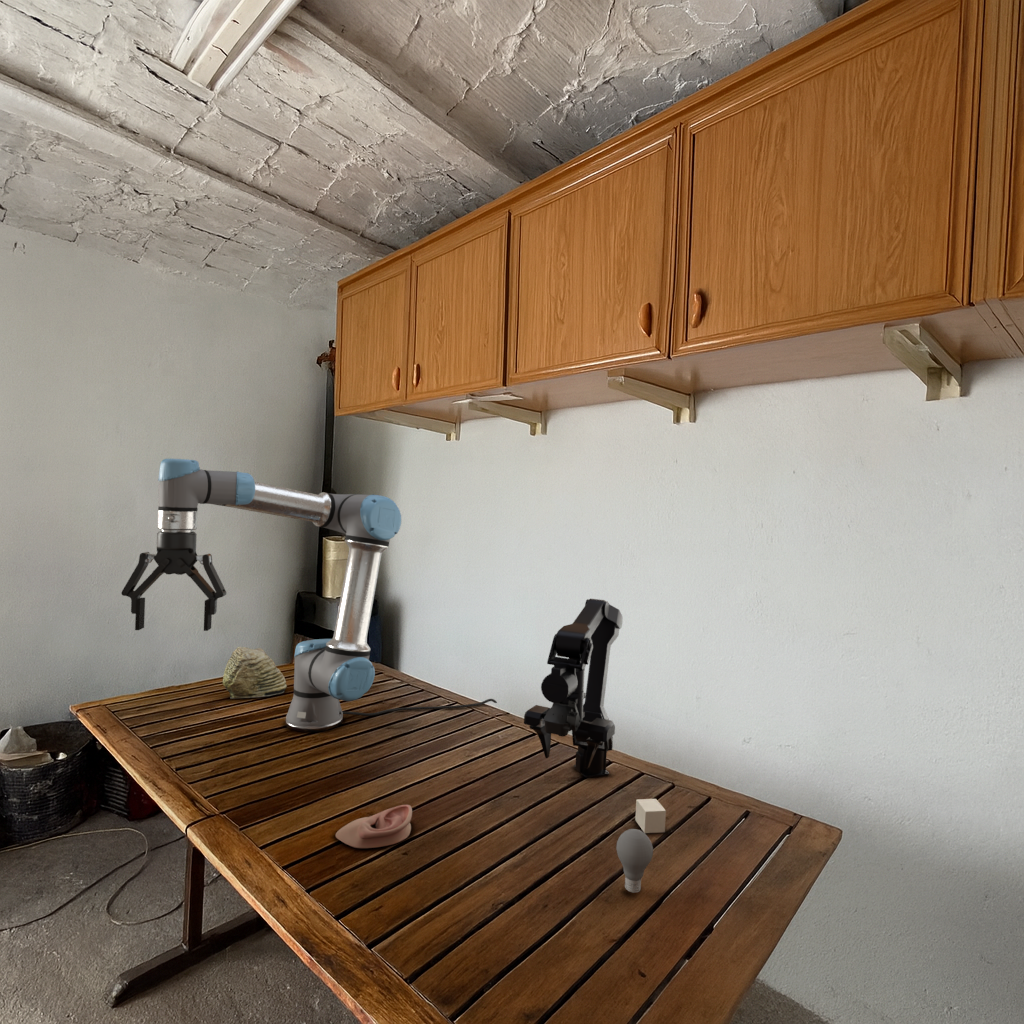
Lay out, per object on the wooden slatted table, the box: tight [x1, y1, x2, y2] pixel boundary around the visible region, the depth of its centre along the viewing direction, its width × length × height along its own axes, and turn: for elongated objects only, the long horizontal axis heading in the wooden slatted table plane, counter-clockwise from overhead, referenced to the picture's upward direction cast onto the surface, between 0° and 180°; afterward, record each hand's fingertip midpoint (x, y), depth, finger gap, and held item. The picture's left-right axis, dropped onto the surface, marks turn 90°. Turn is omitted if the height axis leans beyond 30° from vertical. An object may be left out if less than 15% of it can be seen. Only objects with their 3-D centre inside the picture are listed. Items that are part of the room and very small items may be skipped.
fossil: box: [222, 646, 288, 699], centre depth 198 cm, size 9×18×15 cm, turn 132°
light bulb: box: [615, 828, 654, 894], centre depth 106 cm, size 6×6×10 cm
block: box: [634, 798, 667, 834], centre depth 128 cm, size 4×5×4 cm
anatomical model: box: [335, 804, 413, 849], centre depth 120 cm, size 13×4×12 cm
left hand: (173, 629), depth 136 cm, fingers open, 13 cm apart
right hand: (567, 762), depth 134 cm, fingers open, 9 cm apart
